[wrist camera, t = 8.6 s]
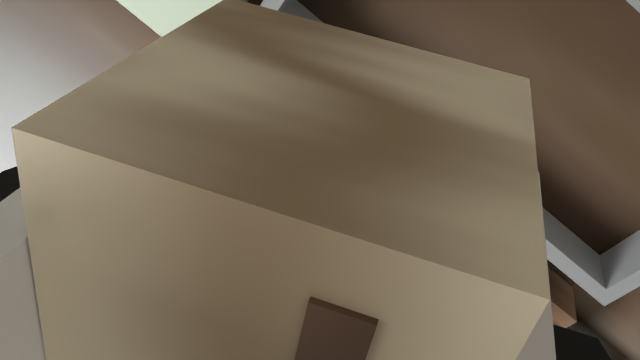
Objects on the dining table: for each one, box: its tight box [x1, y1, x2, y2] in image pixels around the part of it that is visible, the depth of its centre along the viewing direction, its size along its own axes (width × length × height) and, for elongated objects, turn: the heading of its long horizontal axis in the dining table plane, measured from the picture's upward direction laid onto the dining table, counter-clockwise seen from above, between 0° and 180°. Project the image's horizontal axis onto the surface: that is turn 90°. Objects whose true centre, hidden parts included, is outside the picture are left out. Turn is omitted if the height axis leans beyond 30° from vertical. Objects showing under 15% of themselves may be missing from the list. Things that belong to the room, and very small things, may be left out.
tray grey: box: [260, 0, 640, 306], centre depth 23 cm, size 20×10×2 cm, turn 54°
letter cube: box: [12, 0, 550, 360], centre depth 10 cm, size 6×6×6 cm
